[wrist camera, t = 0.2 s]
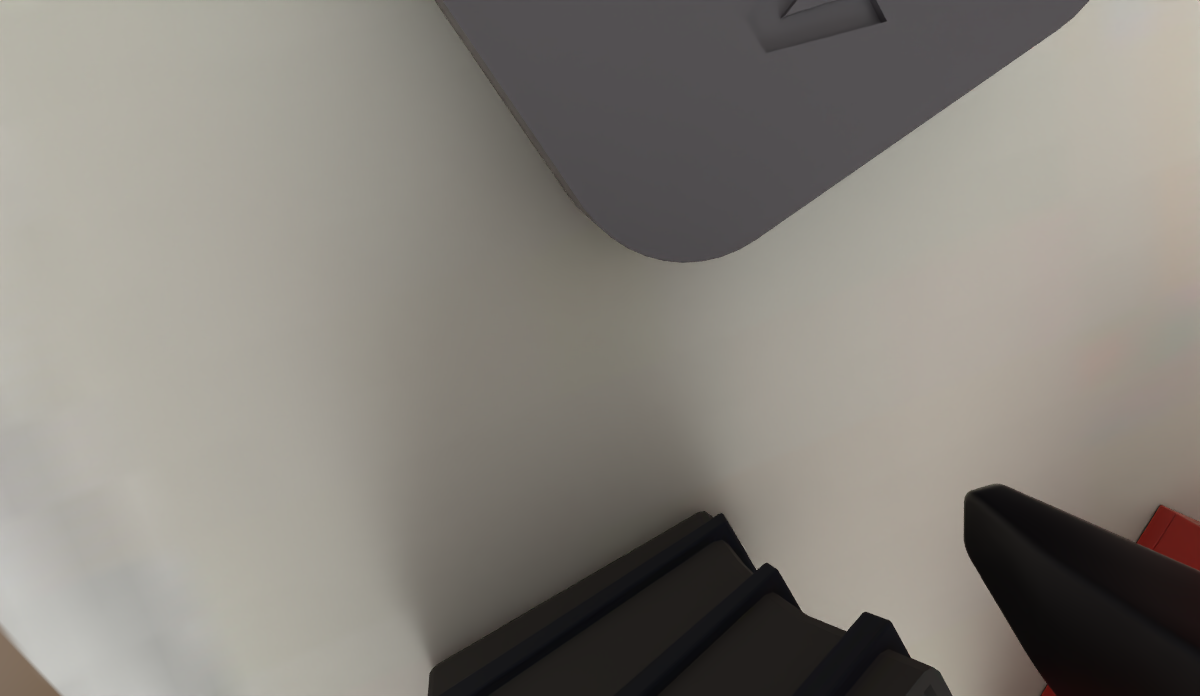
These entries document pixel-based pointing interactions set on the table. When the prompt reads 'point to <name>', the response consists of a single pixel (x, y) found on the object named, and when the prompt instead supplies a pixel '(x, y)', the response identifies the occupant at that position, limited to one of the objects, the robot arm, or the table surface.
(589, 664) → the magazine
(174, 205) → the table surface
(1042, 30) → the streaming box
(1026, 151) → the table surface
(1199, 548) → the valve cabinet
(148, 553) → the table surface
